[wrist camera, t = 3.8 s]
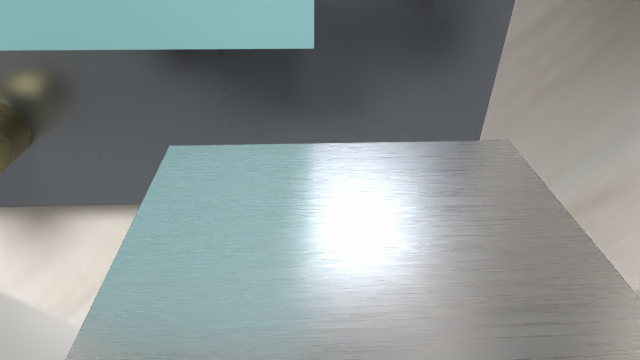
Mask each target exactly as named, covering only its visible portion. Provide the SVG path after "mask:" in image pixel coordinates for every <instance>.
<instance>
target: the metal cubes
mask: <svg viewBox="0 0 640 360" xmlns="http://www.w3.org/2000/svg"><path fill="white" fill-rule="evenodd" d="M514 2H515V0H314V49H166V50H8V51H0V207H19V206H65V205H111V204H141V203H142V201H143V199H144V197H145V195H146V193H147V191H148V189H149V187H150V185H151V183H152V181H153V179H154V177H155V175H156V173H157V170H158V168H159V166H160V164H161V162H162V160H163V158H164V156H165V154H166V152H167V150H168V148H169V146H192V145H254V144H316V143H378V142H441V141H479V138H480V135H481V131H482V127H483V123H484V119H485V115H486V111H487V107H488V103H489V100H490V96H491V92H492V88H493V84H494V80H495V76H496V72H497V68H498V65H499V61H500V57H501V53H502V49H503V45H504V41H505V37H506V33H507V30H508V26H509V22H510V18H511V14H512V10H513V6H514Z"/></svg>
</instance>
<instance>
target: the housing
mask: <svg viewBox="0 0 640 360" xmlns="http://www.w3.org/2000/svg"><path fill="white" fill-rule="evenodd" d="M166 49H314V0H0V51H8V50H166Z"/></svg>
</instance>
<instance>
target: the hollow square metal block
mask: <svg viewBox="0 0 640 360" xmlns="http://www.w3.org/2000/svg"><path fill="white" fill-rule="evenodd" d="M65 360H640V297H639V296H638V295H637V294H636V293H635V291H634V290H633V289H632V288H631V287H630V285H629V284H628V283H627V282H626V281H625V279H624V278H623V277H622V276H621V275H620V273H619V272H618V271H617V270H616V269H615V267H614V266H613V265H612V264H611V263H610V261H609V260H608V259H607V258H606V257H605V255H604V254H603V253H602V252H601V251H600V249H599V248H598V247H597V246H596V245H595V243H594V242H593V241H592V240H591V239H590V237H589V236H588V235H587V234H586V233H585V231H584V230H583V229H582V228H581V227H580V225H579V224H578V223H577V222H576V221H575V219H574V218H573V217H572V216H571V215H570V213H569V212H568V211H567V210H566V209H565V207H564V206H563V205H562V204H561V203H560V201H559V200H558V199H557V198H556V197H555V195H554V194H553V193H552V192H551V191H550V189H549V188H548V187H547V186H546V185H545V183H544V182H543V181H542V180H541V179H540V177H539V176H538V175H537V174H536V173H535V171H534V170H533V169H532V168H531V167H530V165H529V164H528V163H527V162H526V161H525V159H524V158H523V157H522V156H521V155H520V153H519V152H518V151H517V150H516V149H515V147H514V146H513V145H512V144H511V143H510V141H509V140H503V141H441V142H378V143H316V144H254V145H192V146H169V148H168V150H167V152H166V154H165V156H164V158H163V160H162V162H161V164H160V166H159V168H158V170H157V173H156V175H155V177H154V179H153V181H152V183H151V185H150V187H149V189H148V191H147V193H146V195H145V197H144V199H143V201H142V203H141V205H140V207H139V210H138V212H137V214H136V216H135V218H134V220H133V222H132V224H131V226H130V228H129V230H128V232H127V234H126V236H125V238H124V240H123V242H122V244H121V246H120V249H119V251H118V253H117V255H116V257H115V259H114V261H113V263H112V265H111V267H110V269H109V271H108V273H107V275H106V277H105V279H104V281H103V283H102V286H101V288H100V290H99V292H98V294H97V296H96V298H95V300H94V302H93V304H92V306H91V308H90V310H89V312H88V314H87V316H86V318H85V320H84V322H83V325H82V327H81V329H80V331H79V333H78V335H77V337H76V339H75V341H74V343H73V345H72V347H71V349H70V351H69V354H68V356H67V358H66V359H65Z"/></svg>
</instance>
